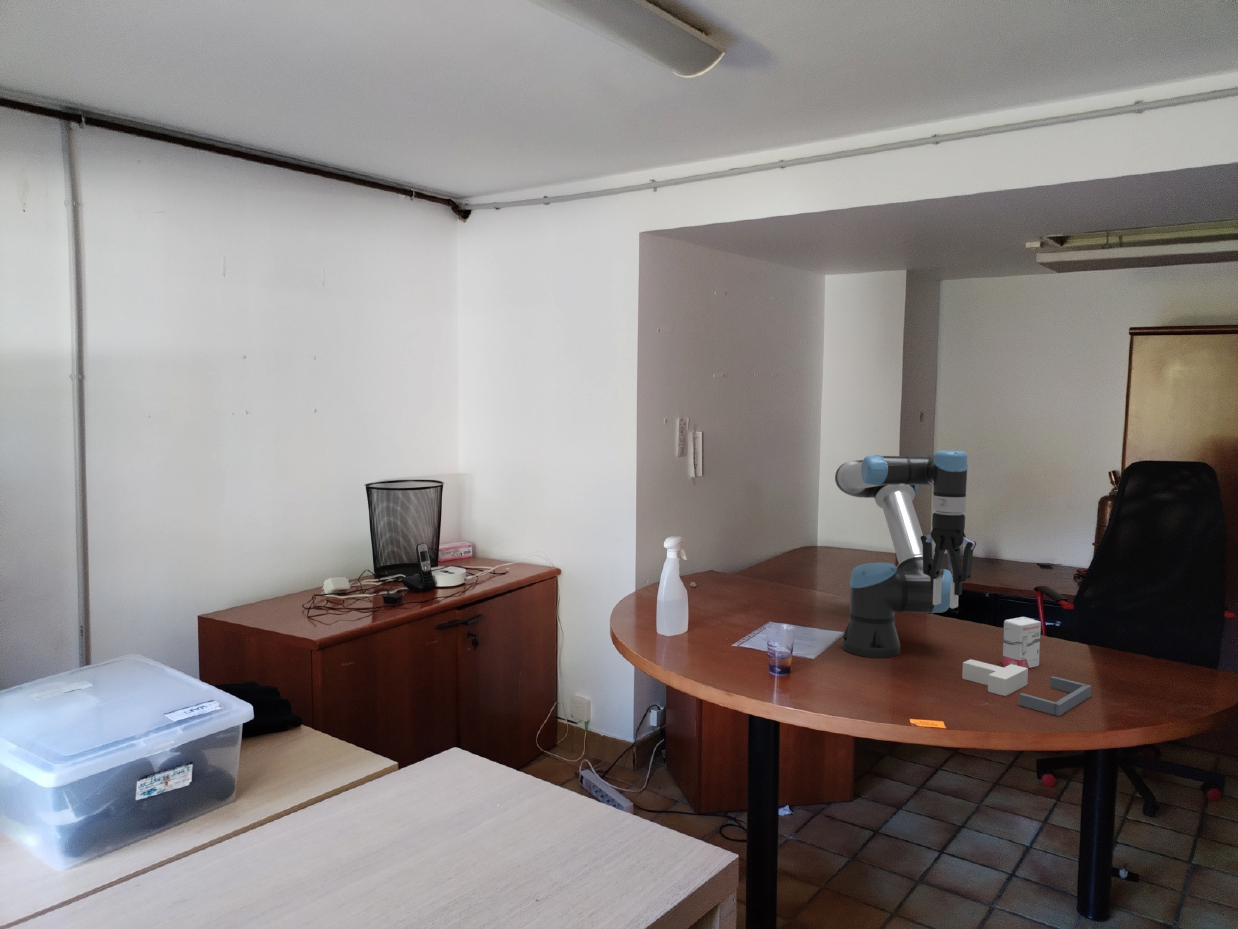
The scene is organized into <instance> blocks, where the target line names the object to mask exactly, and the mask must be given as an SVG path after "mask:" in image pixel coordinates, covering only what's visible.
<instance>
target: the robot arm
mask: <svg viewBox="0 0 1238 929" xmlns="http://www.w3.org/2000/svg"><path fill="white" fill-rule="evenodd" d="M968 468H969V465H968V455H967V452H965V451H963V450H943V449H942V450H937V451H935V454H934V455H933V454H932V455H929V454H928V455H904V456H903V455H899V456H898V455H896V456H895V455H881V454H880V455H867V456H865V457H864V458H863V459H859V460H852V461H847V462H844V463H842V464H841V465H839V466H838V468H837V470H836V472H835V475H834V481H835V484H836V486H837V488H838V489H839V490H840V491H841V492H843V493H844V494H846V495H849V496H851V497H855V498H861V499H862V498H865V499H866V498H871V499H872V498H874V501H875V504H876V505H877V506H878V507H879V508H880V509H882V510H883V514H884V518H885V521H886V523H887V528H888V531H889V534H890V539H891V541H892V545H893V548H894V551H895V554H896V559H897V562H898V564H897V566H896V565H895V564H893V563H890V562H868V563H862V564H859V565H857V566H855V567H854V568H853V569H852V570H851V573H850V579H849V580H850V581H849V587H850V588H849V589H850V590H849V620H848V622H847V625H846V627H845V631H844V633H843V636H842V639H841V647H842V649H843V651H846V652H848V653H851V654H853V655H857V656H861V657H867V658H876V659H877V658H880V659H881V658H890V657H891V658H892V657H896V656H898V655H899V654H900V653H901V642H900V638H899V636H898V635H899V634H898V631H897V629H896V626H895V614H896V613H913V614H914V613H917V614H918V613H920V614H921V613H922V614H925V613H927V614H935V613H939V614H940V613H941V614H942V613H945V612H947V611H948V610H949V608H950V609H953V610H954V609H955V608H958V607H959V596H961V595H962V593H963V582H966V581H969V580H971V579H972V570H973V567H972V566H973V557H974V555H973V554H974V550H975V548H976V546H977V542H976V540H972V541H971V540H970V539H968V538H967V536H966V534H965V528H966V515H965V514H964V513H965V512H966V508H967V506H966V503H967V498H966V497H967V482H968V481H967V477H968ZM919 486H933V489H932V490H933V492H932V494H933V495H932V511H934V512H933V513H932V516H931V518H932V520H931V522H932V523H931V526H932V529H931V532H930V534H924V535H923V531H922V528H921V524H920V521H919V518H918V515H917V512H916V508H915V506H914V503H913V500H914V499H915V497H916V495H917V493H918V490H919ZM933 542H934V544H935V547H934V550H933V544H932V543H933ZM962 544H963V548H964V549H963V554H962V555H963V556H962V562H961V546H962ZM946 551H947V552H948V554H949V556H950V562H951V563H950V564H951V568H952V572H951V571H950V570H948V569H945V568H941V567H942V565H943V564H942V563H943V559H944V555H945V553H946ZM933 552H934V554H933Z"/></svg>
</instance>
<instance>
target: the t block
mask: <svg viewBox="0 0 1238 929" xmlns="http://www.w3.org/2000/svg"><path fill="white" fill-rule="evenodd" d="M1028 677H1029V668H1025V667H1021V666H1017V665H1013V664H1010V665H1008V666H998V665H996V664H991V663H987V662H983V661H980V660H976V659H971V658H970V659H968V660H966V661H963V662H962V679H963V680H965V681H966V680H967V681H971V682H974V683H978V684H980V685H981V684H982V685H985V686H987V692H989V693H993V694H996V695H999V696H1002V695H1003V696H1002V697H1007V696H1009V695H1010V694H1013V693H1014V692H1016V691H1018V690H1020V689H1022V688H1023V687H1025V686H1027V685H1028V679H1029V678H1028Z"/></svg>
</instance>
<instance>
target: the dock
mask: <svg viewBox="0 0 1238 929" xmlns="http://www.w3.org/2000/svg"><path fill="white" fill-rule="evenodd" d="M1049 684H1050V686H1049V688H1051V689H1054V690H1059V691H1062V692H1066V693H1069V694H1067V695H1065V696H1063V697H1062V698H1060V699H1058V700H1057V701H1053V700H1048V699H1045V698H1042V697H1038V696H1034V695H1031V694H1027V693H1024V692H1021V693H1019V695H1018V696H1019V697H1018V706H1020V707H1021V706H1022V707H1024V708H1029V709H1032V710H1035V711H1037V712H1038V711H1039V712H1042V713H1046V714H1049V715H1053V716H1055V717H1060V716H1063V715H1064V714H1065V713H1067V712H1068V711H1070V710H1071V709H1073V708H1075V707H1076V706H1078V705H1079V704H1081V703H1082V702H1084V701H1086V700H1087V699H1089V698H1090V697H1091V695H1092V685H1090V684H1087V683H1083V682H1082V683H1081V682H1078V681H1073V680H1069V679H1065V678H1062V677H1057V676H1055V675H1054V676H1050V683H1049Z"/></svg>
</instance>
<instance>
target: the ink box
mask: <svg viewBox="0 0 1238 929" xmlns="http://www.w3.org/2000/svg"><path fill="white" fill-rule="evenodd" d="M1041 627H1042V622H1041V621H1039V620H1035V619H1033V618H1030V617H1026V616H1020V617H1015V618H1009V619H1005V620H1004V621H1003V642H1002V643H1003V644H1002V667H1006V666H1008V665H1010V664H1013V665H1017V666H1021V667H1025V668H1028V669H1031V668H1034V667H1038V666H1040V651H1041V650H1040V647H1041V645H1040V644H1041V629H1042V628H1041Z"/></svg>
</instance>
